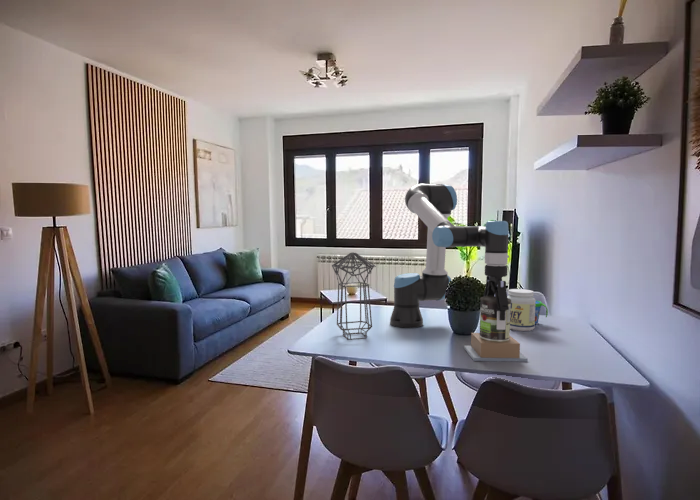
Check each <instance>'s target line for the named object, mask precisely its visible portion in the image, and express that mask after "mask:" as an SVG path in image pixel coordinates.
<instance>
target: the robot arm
mask: <svg viewBox="0 0 700 500" xmlns="http://www.w3.org/2000/svg"><path fill="white" fill-rule="evenodd" d="M404 202H405V206H406V208H407V209H408V210H409V211H410V212H411V213H413V214H415V215H416V216H417V217H418V218H419V219H420V220H421V221H422V222H423V224H424V225H425V226H426V227H427V237H426V240H427V241H426V257H425V268H424V269H423V270H422V271H421V273H422V274H421V275H420V274H419V273H418V272H411V273H410V272H408V273H402V274H398V275H396V276H395V278H394V281H393V282H394V284H393V309H392V313H391V316H390V319H389V321H390V322H389V323H390V325H391V326H393V327H397V328H406V329H411V328H413V329H414V328H419V327H423V325H424V319H423V315H422V313H421V310H420V302H424V301H425V302H426V301H428V302H430V301H437V302H438V301H439V302H440V301H443V300H446V299H445V293H446V289H447V286H448V284H449V282H450V281H451V282H452V279H451V277H450V276H449V274H448V271H447V270H446V269H445V268H446V267H445V265H446V248H457V247H459V248H460V247H463V248H464V247H466V248H467V247H482V248H483V247H484V250H485V252H484V264H485V265H484V275H485V276H486V277H485V278H486V280H485V281H486V282H485V287H484V291H483V292H484V294H483V297H484V296H496V301H497V306H498V308H497V309H496V311H497V330H505V327H506V310H509V307H508V299H507V296H508V292H507V282H506V280H503V278H505V277H507V276H508V267H509V266H507V264H508V262H509V261H508V258H510V256H509V253H508V252H509V235H510V230H509V222H508V221H506V220H487V221H486V222H485V226H483V225H475V226H474V225H473V226H470V225H469V226H468V225H467V226H465V225H464V226H463V225H462V226H460V225H459V226H458V225H456V226H455V225H454V224H453V223H452V222H451V221H450V220H448V218H449V217H450V216H451V215H452V211H454V210H455V209H456V208H457V204H458V195H457V192H456V190H455V188H454V187H453V186H452V185H451V184H445V183H444V184H443V183H418V184H415V185H413V186H411V187H410V188H409V189H408V190H407V191H406V194H405V197H404Z"/></svg>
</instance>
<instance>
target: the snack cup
mask: <svg viewBox="0 0 700 500" xmlns="http://www.w3.org/2000/svg"><path fill="white" fill-rule="evenodd" d="M535 301H536V302H535V325H537V324H538V323H539V318H540V314H541V307H545V311H546V312H545V318H547V317H548V315H549V313H548V312H549V310H548V307H547V305H546V304H545V303H543V302H542V301H540V300H537V299H535ZM536 323H537V324H536Z"/></svg>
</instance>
